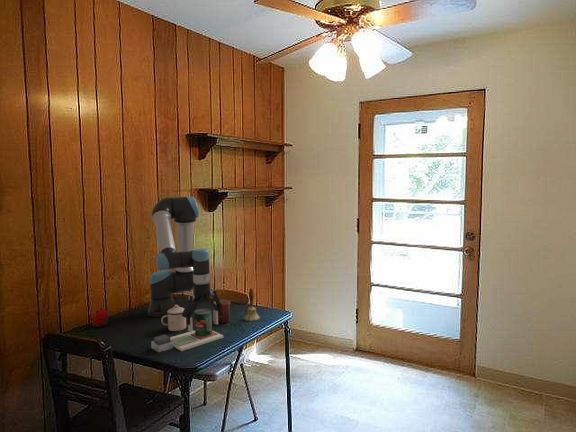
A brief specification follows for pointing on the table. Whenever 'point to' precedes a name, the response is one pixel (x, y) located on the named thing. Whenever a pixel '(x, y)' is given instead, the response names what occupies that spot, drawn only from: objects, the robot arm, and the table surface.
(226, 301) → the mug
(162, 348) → the button base
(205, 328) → the canned tomato
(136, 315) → the table surface
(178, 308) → the teacup with lid
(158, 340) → the button
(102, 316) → the red clay folk toy
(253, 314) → the hand bell
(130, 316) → the table surface
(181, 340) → the picture board
